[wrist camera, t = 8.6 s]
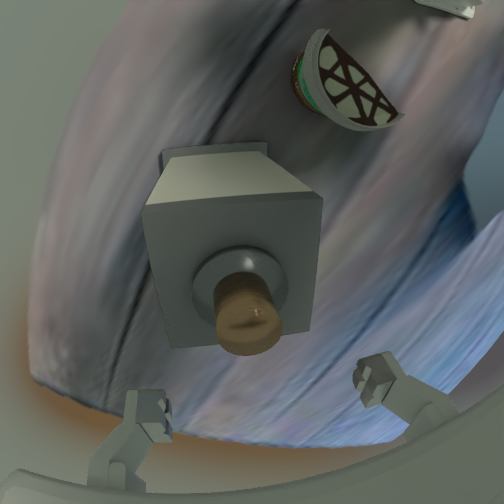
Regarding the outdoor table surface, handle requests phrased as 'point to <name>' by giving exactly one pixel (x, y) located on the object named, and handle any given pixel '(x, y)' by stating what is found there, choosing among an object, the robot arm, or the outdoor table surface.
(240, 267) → the plunger
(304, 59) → the half citrus wheel toy
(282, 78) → the outdoor table surface
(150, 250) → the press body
